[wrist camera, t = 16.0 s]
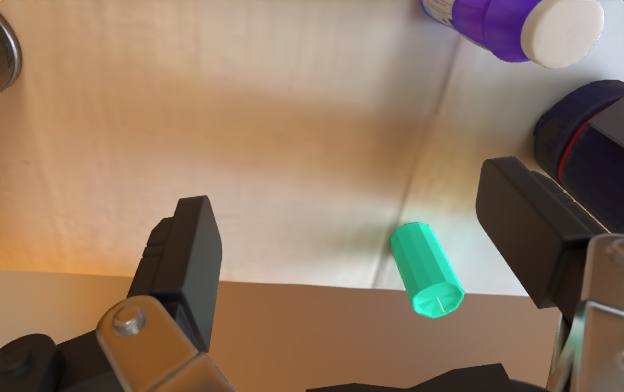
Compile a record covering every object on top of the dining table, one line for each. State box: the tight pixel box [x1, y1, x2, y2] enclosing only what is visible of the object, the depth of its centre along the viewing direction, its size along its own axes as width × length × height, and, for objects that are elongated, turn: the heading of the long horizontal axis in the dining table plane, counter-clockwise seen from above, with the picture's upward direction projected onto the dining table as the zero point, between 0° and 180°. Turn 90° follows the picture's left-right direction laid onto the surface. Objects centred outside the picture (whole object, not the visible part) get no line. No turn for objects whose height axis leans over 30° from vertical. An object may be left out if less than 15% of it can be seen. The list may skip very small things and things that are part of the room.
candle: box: [390, 222, 465, 319], centre depth 49 cm, size 6×6×12 cm
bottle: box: [420, 0, 604, 69], centre depth 30 cm, size 7×6×17 cm
